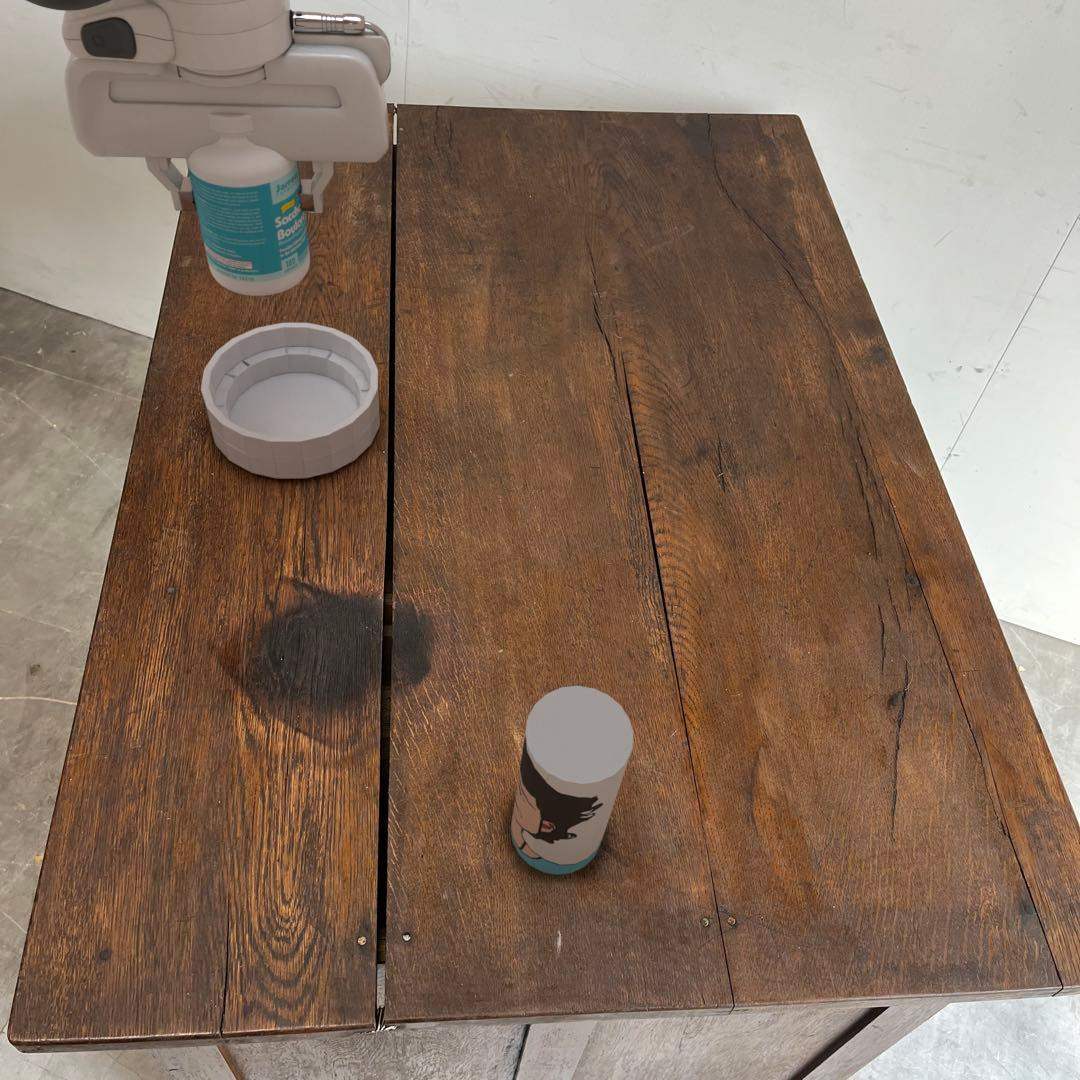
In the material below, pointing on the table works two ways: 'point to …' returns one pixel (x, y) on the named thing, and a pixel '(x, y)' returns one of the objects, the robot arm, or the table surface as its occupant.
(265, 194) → the pill bottle
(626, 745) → the printed label cylinder
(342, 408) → the faceted round dish
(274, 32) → the robot arm
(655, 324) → the table surface
